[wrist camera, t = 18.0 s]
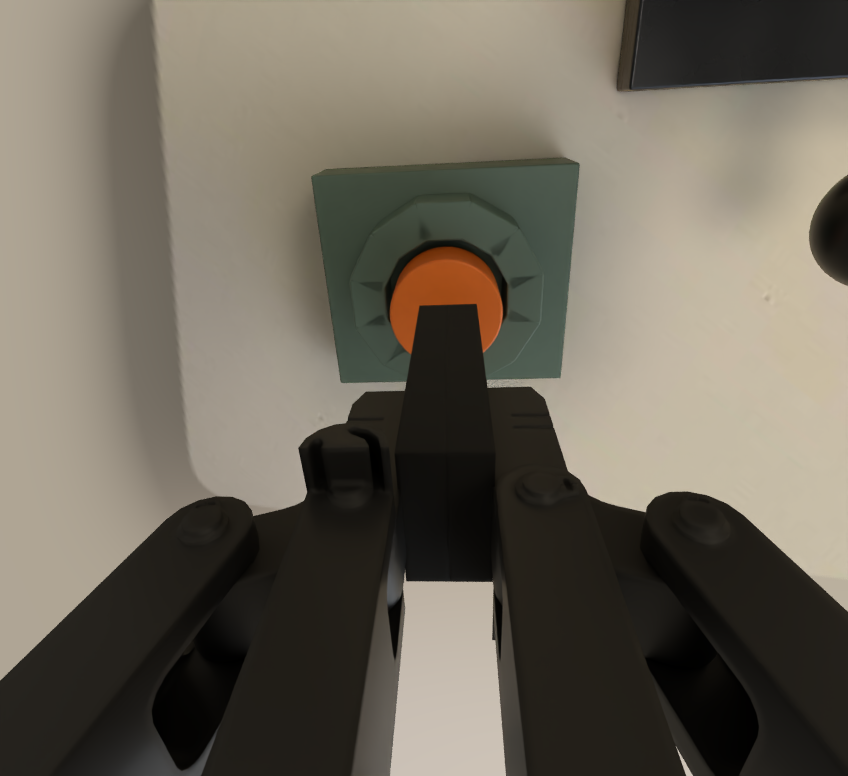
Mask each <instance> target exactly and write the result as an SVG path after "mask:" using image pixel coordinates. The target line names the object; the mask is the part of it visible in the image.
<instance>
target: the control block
mask: <svg viewBox="0 0 848 776" xmlns="http://www.w3.org/2000/svg"><path fill="white" fill-rule="evenodd" d="M579 166H580V164H579V163H577V162H575V161H572V160H570V159H568V158H547V159H526V160H506V161H486V162H465V163H445V164H425V165H404V166H384V167H364V168H343V169H326V170H324V171H321V172H319V173H317V174H315V175H313V176H312V177H311V178H312V185H313V192H314V199H315V206H316V213H317V220H318V227H319V234H320V241H321V248H322V255H323V262H324V269H325V276H326V283H327V289H328V296H329V303H330V310H331V317H332V324H333V331H334V338H335V345H336V352H337V359H338V366H339V373H340V380H341V383H359V382H403V381H407V376H408V370H409V364H410V358H411V354H410V353H409V352H408V351H407V350H405V349H404V348H403V346H402V345H401V344H400V343H399V341H398V340H397V338H396V336H395V334H394V332H393V329H392V326H391V321H390V304H391V300H392V296H393V293H394V289H395V286H396V283H397V280H398V278H399V275H400V273H401V272H402V270H403V269H404V267H405V266H406V265H407V264H408V263H409V262H410V261H411V260H412V259H413V258H414V257H416V256H417V255H419V254H420V253H422V252H424V251H427V250H429V249H432V248H437V247H457V248H461V249H465V250H467V251H469V252H472V253H473V254H475V255H477V256H478V257H479V258H481V259H482V260H483V261H484V262H485V263H486V264H487V265H488V267H489V268H490V270H491V271H492V273H493V275H494V277H495V279H496V282H497V286H498V289H499V293H500V297H501V301H502V306H503V317H502V323H501V327H500V330H499V333H498V335H497V337H496V338H495V340H494V342H493V343H492V344H491V346H490V347H489V348H488V349H487V350H486V351H485V352H483V357H484V365H485V373H486V380H492V379H537V378H560V377H561V366H562V355H563V344H564V333H565V322H566V311H567V299H568V288H569V277H570V266H571V255H572V244H573V232H574V221H575V210H576V199H577V188H578V177H579Z"/></svg>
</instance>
